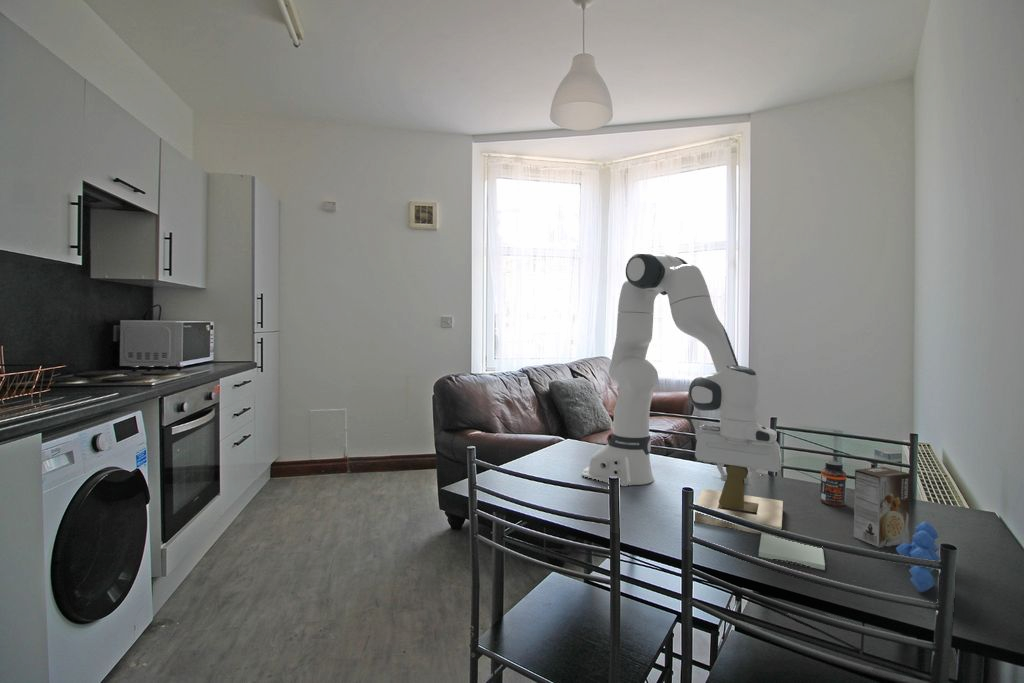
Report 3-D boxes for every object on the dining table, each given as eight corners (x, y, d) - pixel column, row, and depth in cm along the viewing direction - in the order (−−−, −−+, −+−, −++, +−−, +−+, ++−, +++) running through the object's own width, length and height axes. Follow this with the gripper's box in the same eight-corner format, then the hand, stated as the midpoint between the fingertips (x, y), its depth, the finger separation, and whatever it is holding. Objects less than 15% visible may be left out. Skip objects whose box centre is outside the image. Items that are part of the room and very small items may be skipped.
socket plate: (690, 521, 126) (691, 511, 126) (703, 497, 144) (703, 488, 144) (781, 537, 117) (781, 527, 117) (782, 510, 134) (782, 500, 134)
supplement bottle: (823, 505, 138) (824, 464, 137) (817, 498, 144) (818, 459, 143) (848, 508, 136) (849, 466, 136) (841, 500, 142) (842, 460, 141)
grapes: (899, 568, 102) (901, 510, 102) (943, 580, 98) (945, 519, 97) (889, 589, 94) (891, 526, 94) (936, 603, 90) (938, 537, 89)
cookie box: (881, 532, 120) (884, 465, 120) (909, 543, 114) (912, 473, 113) (852, 536, 118) (854, 468, 117) (879, 548, 111) (881, 476, 111)
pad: (758, 556, 107) (758, 551, 107) (761, 535, 118) (761, 531, 118) (824, 570, 102) (824, 565, 102) (821, 547, 112) (821, 542, 112)
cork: (739, 502, 133) (746, 462, 132) (747, 511, 127) (754, 469, 126) (715, 498, 134) (722, 458, 133) (722, 507, 128) (729, 465, 127)
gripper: (693, 426, 132) (691, 478, 132) (782, 436, 122) (779, 493, 122) (698, 422, 137) (695, 472, 138) (783, 432, 127) (780, 486, 127)
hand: (735, 482), depth 130 cm, fingers closed on cork, 4 cm apart
